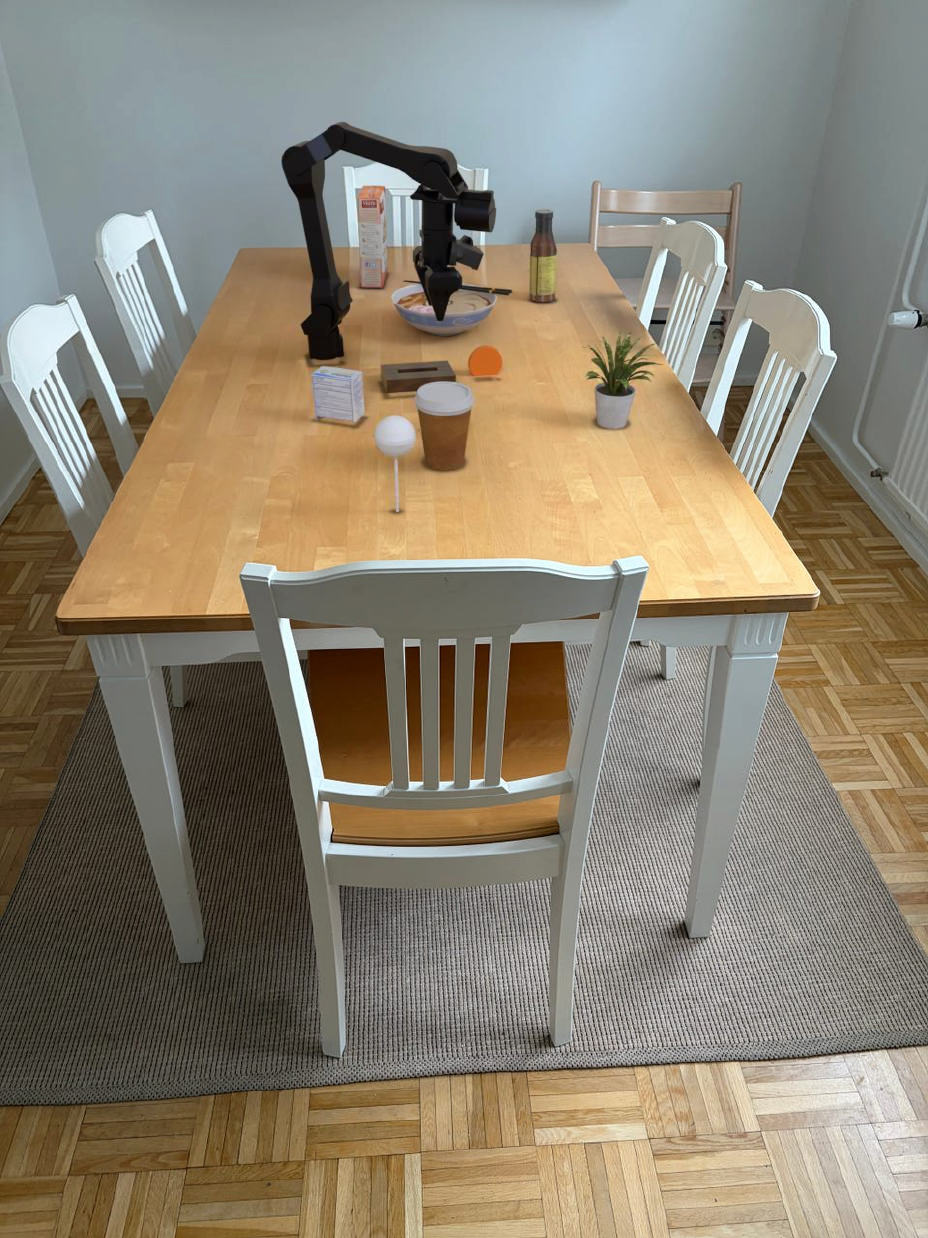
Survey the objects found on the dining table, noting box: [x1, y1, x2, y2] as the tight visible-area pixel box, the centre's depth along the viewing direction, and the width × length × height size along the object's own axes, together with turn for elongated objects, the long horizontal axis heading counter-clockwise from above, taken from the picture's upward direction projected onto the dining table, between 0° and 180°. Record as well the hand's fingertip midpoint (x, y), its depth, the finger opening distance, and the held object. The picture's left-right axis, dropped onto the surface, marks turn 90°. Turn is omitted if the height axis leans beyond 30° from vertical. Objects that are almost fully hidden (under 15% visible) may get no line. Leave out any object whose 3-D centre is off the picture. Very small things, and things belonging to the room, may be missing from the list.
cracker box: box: [356, 185, 388, 289], centre depth 231 cm, size 14×6×21 cm, turn 179°
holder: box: [380, 360, 457, 394], centre depth 180 cm, size 13×8×4 cm, turn 102°
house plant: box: [583, 329, 664, 430], centre depth 163 cm, size 14×14×16 cm
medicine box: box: [310, 365, 366, 423], centre depth 166 cm, size 8×4×9 cm, turn 71°
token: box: [467, 345, 503, 377], centre depth 183 cm, size 6×1×6 cm, turn 102°
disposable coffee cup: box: [413, 381, 476, 471], centre depth 152 cm, size 10×10×12 cm
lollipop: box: [373, 414, 417, 513], centre depth 137 cm, size 6×6×15 cm
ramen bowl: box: [390, 279, 513, 337], centre depth 205 cm, size 25×23×8 cm
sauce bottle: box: [528, 208, 558, 304], centre depth 221 cm, size 7×6×20 cm
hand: (435, 312), depth 181 cm, fingers open, 9 cm apart
